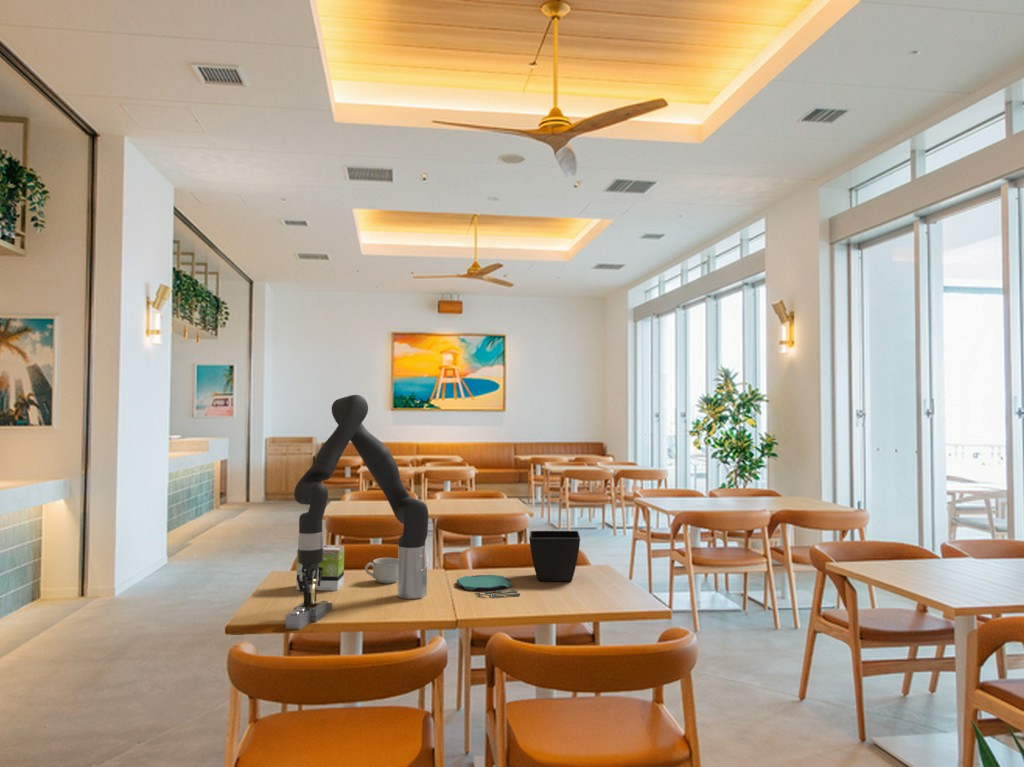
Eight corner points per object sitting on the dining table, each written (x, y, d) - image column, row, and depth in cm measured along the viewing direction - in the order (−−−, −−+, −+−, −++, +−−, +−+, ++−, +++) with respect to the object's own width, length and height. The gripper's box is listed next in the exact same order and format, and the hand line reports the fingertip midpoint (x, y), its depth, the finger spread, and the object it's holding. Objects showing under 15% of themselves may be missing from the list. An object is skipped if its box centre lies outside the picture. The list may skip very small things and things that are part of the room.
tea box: (295, 591, 271) (296, 549, 272) (303, 584, 282) (303, 544, 282) (338, 591, 272) (338, 549, 272) (344, 584, 282) (344, 544, 282)
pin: (318, 610, 237) (318, 578, 238) (312, 613, 234) (313, 580, 234) (306, 610, 238) (306, 577, 238) (301, 613, 234) (301, 580, 235)
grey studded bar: (336, 609, 246) (336, 594, 247) (304, 629, 224) (304, 613, 224) (315, 608, 248) (315, 594, 248) (281, 628, 225) (281, 612, 225)
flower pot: (530, 572, 303) (530, 529, 303) (578, 573, 302) (578, 530, 302) (529, 583, 284) (529, 537, 284) (580, 584, 283) (580, 538, 283)
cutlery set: (502, 578, 293) (502, 572, 293) (526, 598, 264) (526, 591, 264) (451, 582, 287) (451, 576, 287) (469, 602, 259) (469, 596, 259)
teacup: (399, 577, 293) (399, 556, 294) (404, 583, 283) (404, 562, 283) (362, 580, 289) (362, 558, 289) (366, 586, 279) (366, 564, 279)
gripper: (312, 551, 229) (311, 609, 228) (331, 543, 243) (330, 598, 242) (288, 550, 230) (288, 608, 230) (309, 542, 244) (308, 597, 243)
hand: (310, 603), depth 236 cm, fingers closed on pin, 3 cm apart
